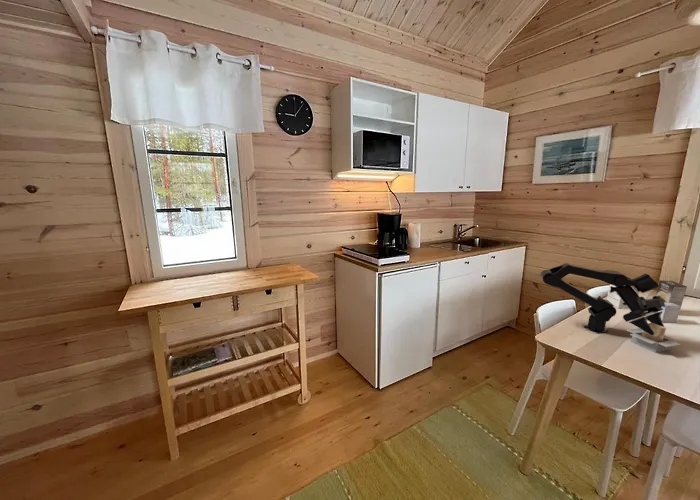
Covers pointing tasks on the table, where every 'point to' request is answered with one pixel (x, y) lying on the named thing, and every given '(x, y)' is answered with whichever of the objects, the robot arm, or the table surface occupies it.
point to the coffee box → (671, 292)
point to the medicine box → (670, 312)
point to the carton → (650, 344)
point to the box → (655, 333)
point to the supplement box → (617, 298)
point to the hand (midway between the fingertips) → (658, 332)
